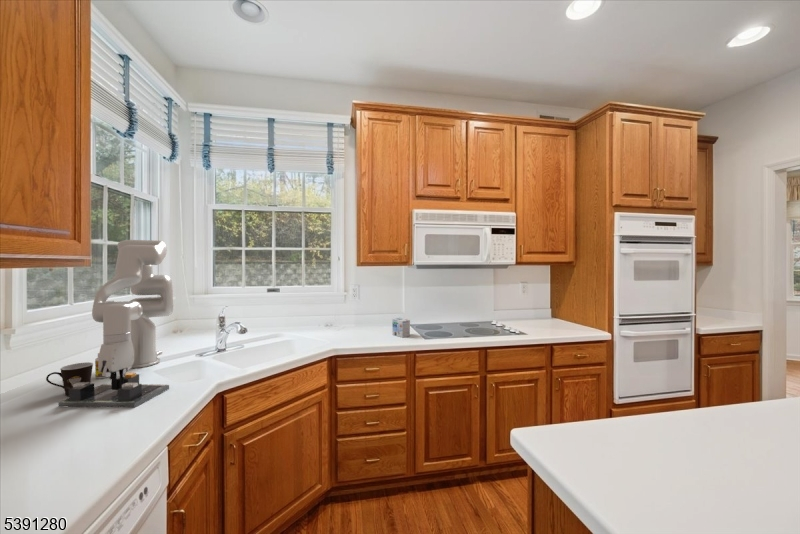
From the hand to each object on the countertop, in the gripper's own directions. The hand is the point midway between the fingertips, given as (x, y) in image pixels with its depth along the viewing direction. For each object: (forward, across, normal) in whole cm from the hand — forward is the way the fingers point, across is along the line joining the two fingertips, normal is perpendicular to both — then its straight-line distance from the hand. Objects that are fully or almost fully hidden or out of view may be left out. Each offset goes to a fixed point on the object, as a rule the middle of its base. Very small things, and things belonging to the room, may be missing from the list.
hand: (117, 388), depth 118 cm
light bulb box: (+3, -100, +100) cm, 142 cm away
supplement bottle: (+3, -20, -24) cm, 32 cm away
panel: (+3, 0, 0) cm, 3 cm away
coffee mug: (+3, -3, -20) cm, 21 cm away
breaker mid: (+1, -5, 0) cm, 5 cm away
